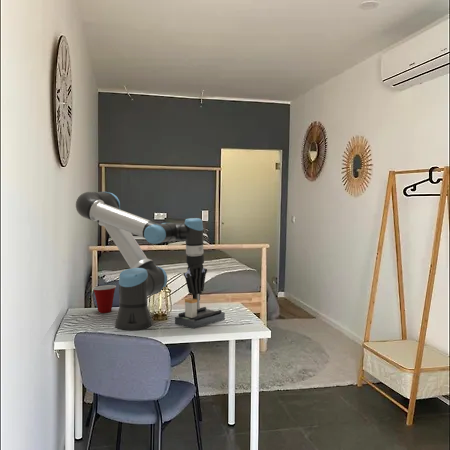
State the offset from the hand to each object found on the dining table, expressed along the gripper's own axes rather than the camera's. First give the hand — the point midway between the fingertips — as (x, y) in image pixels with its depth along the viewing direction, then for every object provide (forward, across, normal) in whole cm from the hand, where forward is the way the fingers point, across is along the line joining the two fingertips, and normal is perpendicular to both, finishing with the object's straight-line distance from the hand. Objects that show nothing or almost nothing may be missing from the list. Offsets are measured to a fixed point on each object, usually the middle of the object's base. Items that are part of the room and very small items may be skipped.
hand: (196, 308), depth 213 cm
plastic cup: (+6, -14, +46) cm, 48 cm away
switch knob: (+2, -4, 0) cm, 5 cm away
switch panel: (+6, +2, 0) cm, 6 cm away
